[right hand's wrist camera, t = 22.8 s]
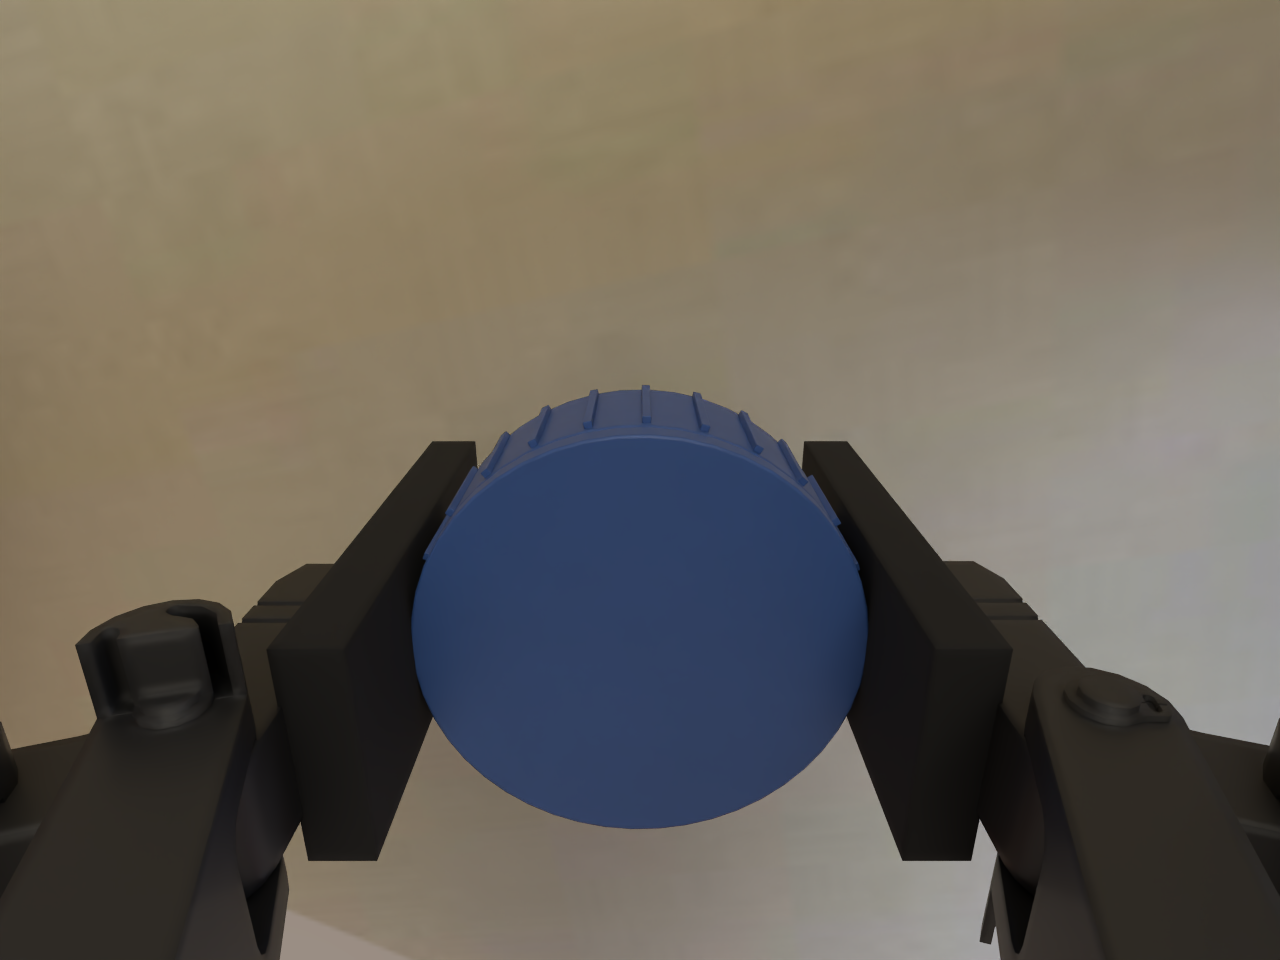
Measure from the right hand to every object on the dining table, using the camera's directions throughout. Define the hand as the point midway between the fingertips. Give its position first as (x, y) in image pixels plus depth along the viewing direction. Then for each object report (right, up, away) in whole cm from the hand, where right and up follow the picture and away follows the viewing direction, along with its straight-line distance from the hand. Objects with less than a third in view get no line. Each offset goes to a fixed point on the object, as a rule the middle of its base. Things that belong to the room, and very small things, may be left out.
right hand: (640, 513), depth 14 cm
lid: (0, -1, -4) cm, 4 cm away
